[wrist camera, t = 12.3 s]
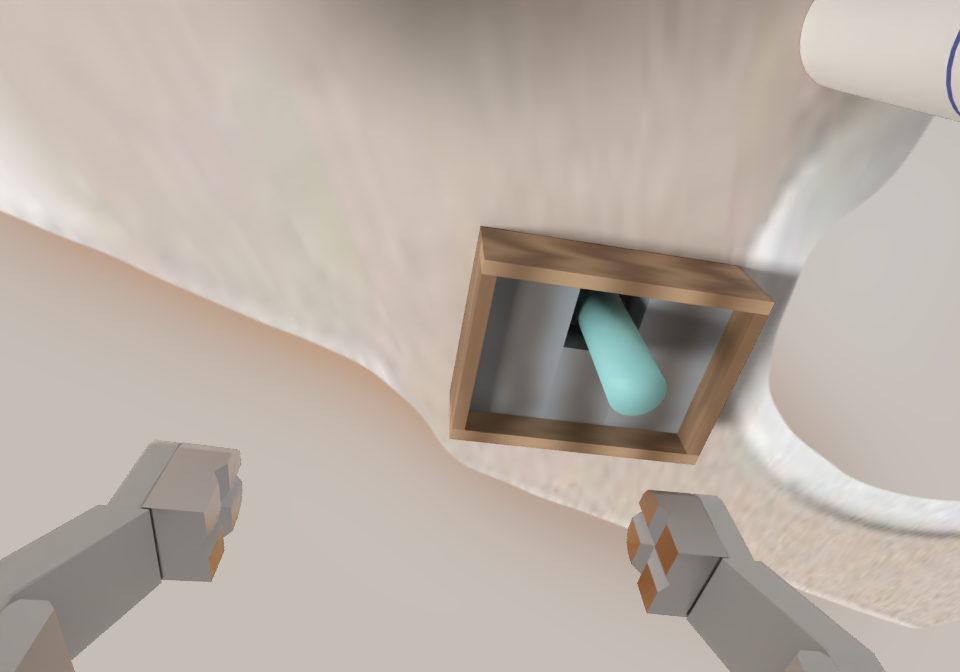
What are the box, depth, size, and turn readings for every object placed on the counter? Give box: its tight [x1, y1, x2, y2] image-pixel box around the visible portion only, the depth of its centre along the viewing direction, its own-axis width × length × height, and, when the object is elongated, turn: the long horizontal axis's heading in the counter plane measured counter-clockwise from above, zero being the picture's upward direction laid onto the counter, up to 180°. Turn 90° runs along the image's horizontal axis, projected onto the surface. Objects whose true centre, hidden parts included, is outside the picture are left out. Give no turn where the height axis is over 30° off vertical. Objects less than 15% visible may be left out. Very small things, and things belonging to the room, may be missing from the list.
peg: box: [574, 288, 667, 416], centre depth 40 cm, size 4×4×12 cm
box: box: [450, 226, 775, 465], centre depth 44 cm, size 20×15×6 cm
